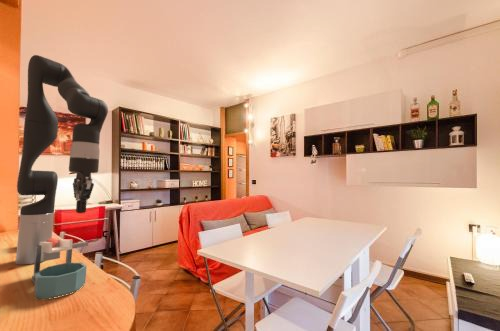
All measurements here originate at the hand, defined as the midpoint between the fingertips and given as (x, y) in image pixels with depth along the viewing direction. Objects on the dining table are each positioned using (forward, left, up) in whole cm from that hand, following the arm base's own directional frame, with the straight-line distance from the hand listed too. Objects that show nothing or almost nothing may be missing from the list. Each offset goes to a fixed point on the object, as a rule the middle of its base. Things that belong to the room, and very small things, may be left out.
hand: (80, 212), depth 70 cm
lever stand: (-6, -4, -20) cm, 21 cm away
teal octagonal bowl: (+5, -4, -20) cm, 21 cm away
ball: (-11, -4, -11) cm, 16 cm away
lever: (-5, -2, -15) cm, 16 cm away
